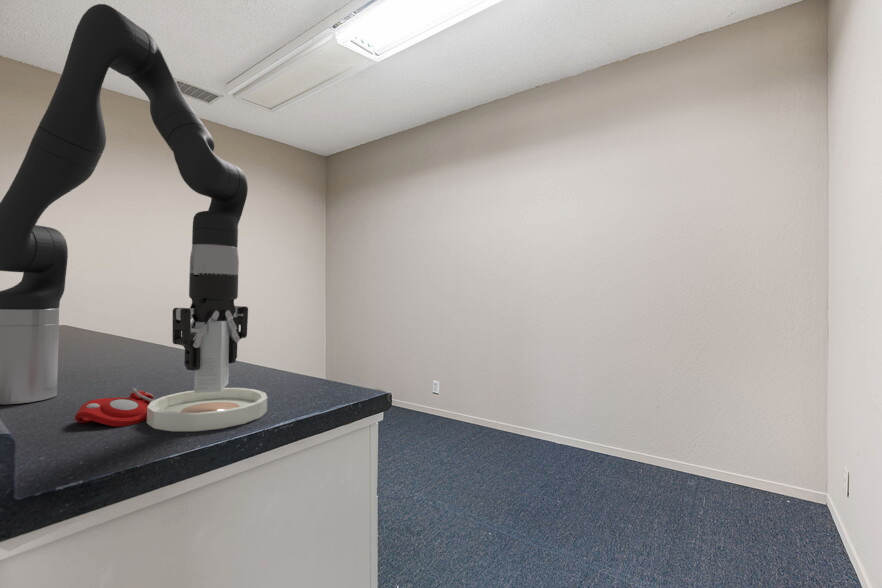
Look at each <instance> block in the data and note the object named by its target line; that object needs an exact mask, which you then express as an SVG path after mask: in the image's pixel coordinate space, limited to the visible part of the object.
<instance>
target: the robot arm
mask: <svg viewBox="0 0 882 588" xmlns="http://www.w3.org/2000/svg"><path fill="white" fill-rule="evenodd" d="M109 69H111V70H113V71H115V72H117V73H119V74H120V75H122V76H125V77H128V78H129V79H130V80H131V81H132V82H134V84H136V85H137V87H139V88H140V89H141V91H142V92H144V93H143V94H145V96H146V97H147V98H148V100H149V111H150V113H149V114H150V116H151V120H152V122H153V125H154V126H155V128H156V130H157V131H158V133H159V134H160V136H161V137H162V138H163V140H164V142H165V143H166V144H167V146H168V148H169V149H170V150H171V151H172V153H173V156H174V161H175V163H176V167H177V169H178V172H179V174H180V176H181V179H182V180H183V181H184V182H185V184H186V186H188V187H189V188H190V189H191V190H192V191H193V192H195V193H197V194H198V195H202V196H205V197H208V198H210V199H211V200H210V204H209V207H208V210H202V211H198V212H197V213H195V214H194V216H193V219H192V220H193V221H192V234H191V235H192V237H191V238H192V239H191V250H190V256H189V283H188V297H189V298H190V300H191V305H190V307H188V308H187V307H174V308H173V309H172V344H173V345H179V346H182V347H183V348H184V363H183V365H184V367H185V369H186V370H188V371H192V372H194V371H195V370H199V369H200V348H198V347H199V345H200V344H201V342H202V340H203V338H204V337H205V336H207V335H208V333H209V322H215V321H227V326H228V328H229V329H228V333H229V364H235V363H236V361H237V358H238V342H239V341H240V340H241V339H246V338H247V336H248V323H249V321H248V320H249V307H248V306H247V305H246V306H241V305H240V306H239V305H235V300H237V299H238V297H239V294H238V292H239V266H240V265H239V264H240V263H239V251H238V250H239V249H238V243H239V242H238V241H239V240H238V239H239V222H240V220H241V217H242V215H243V211H244V208H245V204H246V200H247V197H248V190H249V189H248V188H249V186H248V181H247V176H246V175H245V173H244V171H243V170H242V169H241V168H240V167H239V166H238V165H236V164H233V163H231V162H229V161H227V160H226V159H223V158H221V157H218V155H216V154H215V153H214V150H215V141H214V139H213V137H212V135H211V134H210V132H209V130H208V129H207V127H206V126H205V125H204V123H203V122H202V120H201V118H200V117H199V116H198V114H197V113H196V112H195V110H194V109H193V108H192V106H191V105H190V103H189V102H188V101H187V98H185V96H184V94H183V92H182V91H181V89H180V87H179V85H178V83H177V81H176V80H175V78H174V76H173V74H172V72H171V69H170V67H169V65H168V62H167V59H166V58H165V57H164V54H163V52H162V50H161V48H160V46H159V45H158V43H157V41H156V39H154V38H153V37H152V35H151V34H149V33H148V32H147V31H146V30H145V29H143V28H142V27H141V26H139V25H138V24H136V23H135V22H133V21H132V20H131V19H129V18H128V17H127V16H126V15H124V14H123V13H122V12H120V11H119V10H117V9H116V8H115V7H112V6H110V5H108V4H105V3H97V4H95V5H92V6H91V7H89V8H88V9H87V10H86V11H85V12H84V14H82V16H81V18H80V20H79V21H78V25H77V26H76V29H75V32H74V34H73V37H72V39H71V43H70V47H69V50H68V53H67V57H66V60H65V64H64V67H63V70H62V73H61V76H60V79H59V80H58V83H57V86H56V88H55V91H54V93H53V95H52V97H51V100H50V102H49V104H48V106H47V108H46V110H45V113H44V114H43V116H42V118H41V119H40V122H39V124H38V126H37V128H36V130H35V131H34V132H35V133H34V134H33V137H32V138H31V142H30V143H29V146H28V148H27V151H26V153H25V156H24V158H23V161H22V163H21V164H20V167H19V169H18V171H17V172H16V175H15V176H14V178H13V180H12V183H11V184H10V186H9V188H8V190H7V192H6V193H5V194H4V196H3V198H2V199H1V201H0V272H9V273H10V272H11V273H23V274H22V277H21V281H19V282H18V283H17V284H16V285H14V286H12V287H9V288H7V289H3V290H0V405H15V404H16V405H17V404H25V403H27V404H28V403H34V402H38V401H39V402H41V401H44V400H49V399H51V398H55V397H56V396H57V395H58V371H59V369H58V366H59V336H60V333H59V332H60V331H59V330H60V302H61V299H62V297H63V296H64V292H65V289H66V277H67V267H68V259H69V258H68V257H69V256H68V255H69V253H68V251H69V250H68V244H67V241H66V238H65V236H64V235H63V233H62V232H61V231H59V230H58V229H56V228H53V227H49V226H44V225H37V223H38V221H39V220H40V217H41V216H42V215H43V214H44V212H45V211H46V209H48V207H50V205H52V204H53V203H55V202H56V201H57V200H59V199H61V198H62V197H63V196H65V195H67V194H68V193H70V192H71V191H73V190H74V189H76V188H78V187H79V186H81V185H82V184H84V183H85V182H86V181H87V180H88V179H89V178H90V177H91V176H92V174H93V173H94V171H96V167H97V166H98V164H99V162H100V159H101V157H102V155H103V153H104V150H105V148H106V143H107V136H106V135H107V134H106V128H105V127H106V126H105V122H104V117H103V112H102V106H101V91H102V86H103V84H104V81H105V78H106V75H107V74H108V71H109ZM196 322H205V323H204V325H203V327H202V328H201V329H195V323H196ZM207 328H208V329H207ZM195 333H196V336H195Z"/></svg>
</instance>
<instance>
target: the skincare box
mask: <svg viewBox="0 0 882 588" xmlns="http://www.w3.org/2000/svg"><path fill="white" fill-rule="evenodd" d="M204 323H205V322H196V323H195V329H201V328H202V327H203V325H204ZM207 329H208V328H207ZM228 329H229V328H228V326H227V321H215V322H209V333H208V335H207V336H205V337H204V338H203V340H202V342H201V344H200V345H199V347H198V348H200V369H199V370H195V371H193V390H194V392H195V393H203V392H220V391H221V390H222V389H223V388H226V387H227V385H228V384H229V373H230V372H229V368H230V366H229V365H230V363H229V333H228ZM195 336H196V333H195Z"/></svg>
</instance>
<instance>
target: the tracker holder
mask: <svg viewBox="0 0 882 588" xmlns="http://www.w3.org/2000/svg"><path fill="white" fill-rule="evenodd" d="M131 391H132V392H131V393H130V395H129V397H119V396H118V397H106V398H105V397H104V398H97V399H95V398H94V399H91V400H89V401H87V402H85V403H84V404H82V405H81V406H80V408H79V409H78V410H77V412H76V414H75V416H74V420H75V421H76V422H77V423H79V424H86V423H87V424H88V423H91V422H96V423H98V424H102V425H106V426H110V427H127V426H132V425H135V424H139V423H142V422H144V421H147V407H148V405H149V404H150V402H152V401H154V400H155V399H154V395H153V394H151V393H150V392H146V391H144V390H139V389H137V388H134V387H132V388H131Z"/></svg>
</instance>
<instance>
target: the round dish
mask: <svg viewBox="0 0 882 588" xmlns="http://www.w3.org/2000/svg"><path fill="white" fill-rule="evenodd" d="M267 412H268V395H267V393H266V392H264V391H261V390H258V389H254V388H246V387H224V388H223V389H222V390H221V391H220V392H203V393H195V392H194V389H193V390H186V391H181V392H177V393H172V394H169V395H164V396H161V397H159V398H156V399H154V401H152V402H150V404H149V405H148V407H147V419H146V424H147V425H148V426H150V427H151V428H153V429H155V430H161V431H166V432H202V431H210V430H220V429H221V430H222V429H226V428H230V427H235V426H241V425H244V424H247V423H250V422H252V421H255V420H258V419H260V418H261V417H263V416H264V415H265V414H266V413H267Z"/></svg>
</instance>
